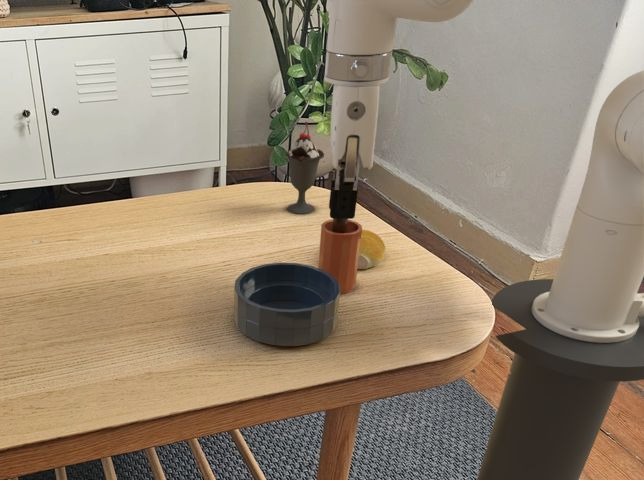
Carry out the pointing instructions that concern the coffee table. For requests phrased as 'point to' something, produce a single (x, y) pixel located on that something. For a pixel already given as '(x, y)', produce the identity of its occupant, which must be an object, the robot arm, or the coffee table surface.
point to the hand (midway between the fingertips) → (341, 212)
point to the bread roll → (370, 250)
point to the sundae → (303, 170)
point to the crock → (340, 253)
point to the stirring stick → (339, 224)
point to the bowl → (286, 303)
